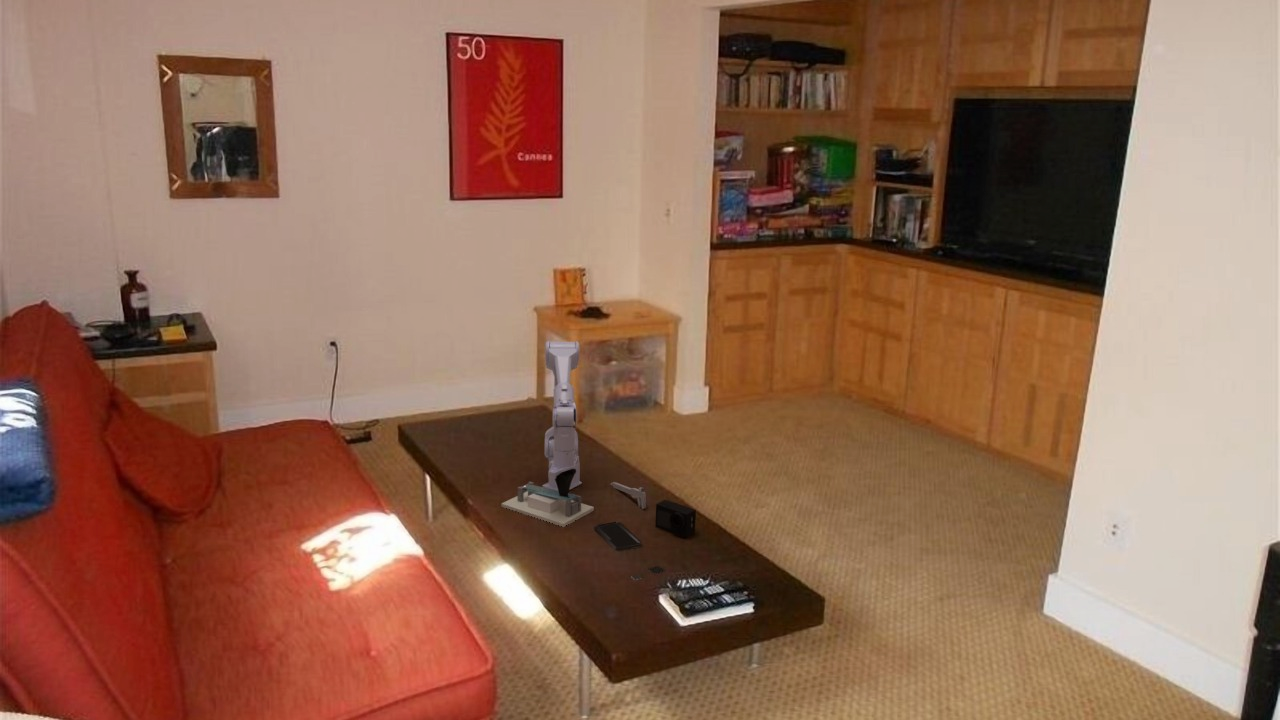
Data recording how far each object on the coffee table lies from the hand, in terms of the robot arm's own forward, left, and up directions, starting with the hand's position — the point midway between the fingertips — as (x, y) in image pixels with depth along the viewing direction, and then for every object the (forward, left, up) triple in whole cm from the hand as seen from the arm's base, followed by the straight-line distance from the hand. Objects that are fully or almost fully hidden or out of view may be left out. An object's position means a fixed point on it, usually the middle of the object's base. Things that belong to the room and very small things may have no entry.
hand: (563, 494), depth 265 cm
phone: (+3, +20, -6) cm, 21 cm away
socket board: (0, -6, -6) cm, 8 cm away
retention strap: (0, -5, -1) cm, 6 cm away
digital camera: (-10, +30, -6) cm, 32 cm away
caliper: (-21, +7, -6) cm, 23 cm away
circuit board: (+13, +38, -6) cm, 41 cm away
